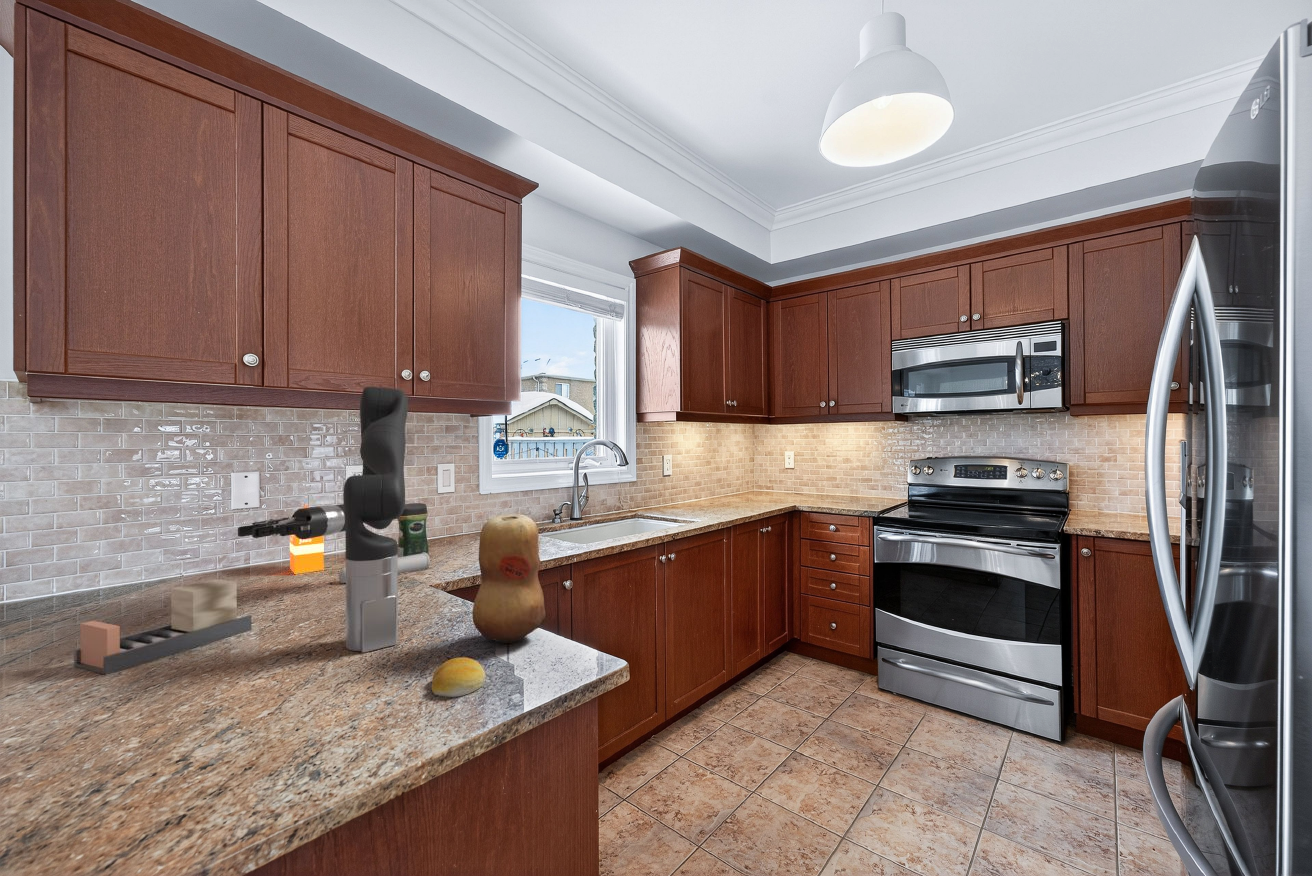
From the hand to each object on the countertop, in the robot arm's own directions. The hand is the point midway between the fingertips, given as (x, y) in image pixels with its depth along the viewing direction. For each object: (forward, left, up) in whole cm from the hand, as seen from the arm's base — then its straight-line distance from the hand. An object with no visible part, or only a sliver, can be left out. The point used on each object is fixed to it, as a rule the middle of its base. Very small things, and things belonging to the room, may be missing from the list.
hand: (246, 532), depth 122 cm
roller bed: (-6, +13, -20) cm, 25 cm away
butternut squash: (-50, -36, -20) cm, 65 cm away
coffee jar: (+43, -51, -20) cm, 70 cm away
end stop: (-11, +23, -19) cm, 32 cm away
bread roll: (-62, -20, -20) cm, 68 cm away
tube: (+24, -36, -20) cm, 48 cm away
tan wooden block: (-4, +7, -18) cm, 19 cm away
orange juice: (+48, -21, -20) cm, 56 cm away
